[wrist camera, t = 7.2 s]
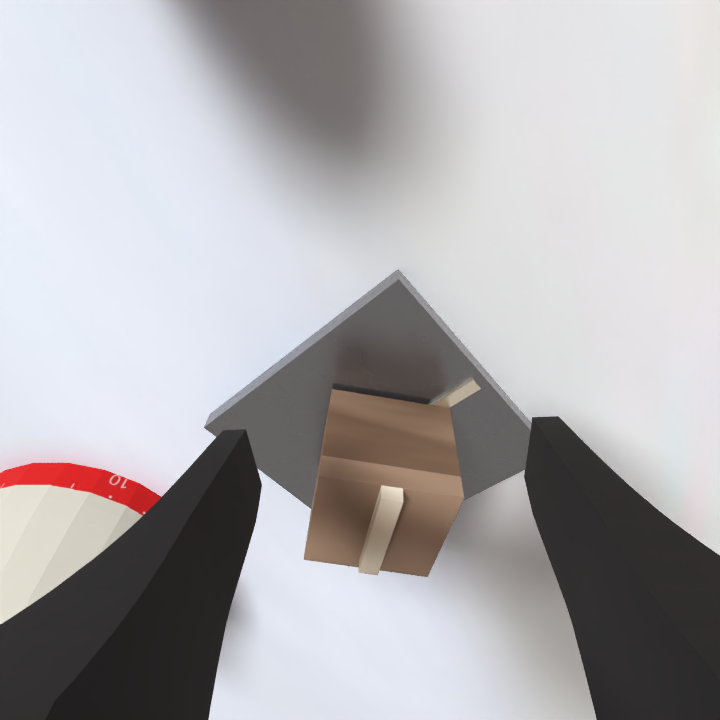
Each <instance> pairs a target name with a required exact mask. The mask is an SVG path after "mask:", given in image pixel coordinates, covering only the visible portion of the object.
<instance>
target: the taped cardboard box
mask: <svg viewBox="0 0 720 720" xmlns="http://www.w3.org/2000/svg"><path fill="white" fill-rule="evenodd" d="M463 499H464V493H463V487H462V481H461V475H460V468H459V462H458V456H457V450H456V444H455V437H454V431H453V425H452V419H451V412H450V408H446V407H440V406H434V405H428V404H421V403H415V402H409V401H403V400H397V399H391V398H385V397H378V396H372V395H366V394H360V393H354V392H348V391H342V390H335V389H332V391H331V397H330V402H329V408H328V414H327V419H326V425H325V431H324V436H323V442H322V448H321V453H320V459H319V464H318V470H317V477H316V483H315V490H314V496H313V503H312V509H311V515H310V522H309V528H308V535H307V541H306V548H305V554H304V560H310V561H318V562H325V563H332V564H339V565H346V566H353V567H359V573H365V574H373V575H378V573H379V570H382V571H389V572H396V573H403V574H410V575H417V576H424V577H428V575H429V573H430V570H431V568H432V566H433V564H434V562H435V560H436V558H437V555H438V553H439V551H440V549H441V547H442V545H443V542H444V540H445V538H446V536H447V534H448V532H449V530H450V527H451V525H452V523H453V521H454V519H455V517H456V514H457V512H458V510H459V508H460V506H461V504H462V502H463Z"/></svg>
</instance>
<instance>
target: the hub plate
mask: <svg viewBox="0 0 720 720" xmlns="http://www.w3.org/2000/svg"><path fill="white" fill-rule="evenodd" d="M332 389H335V390H342V391H348V392H354V393H360V394H366V395H372V396H378V397H385V398H391V399H397V400H403V401H409V402H415V403H421V404H428V405H434V406H440V407H446V408H450V412H451V419H452V425H453V431H454V437H455V444H456V450H457V456H458V462H459V468H460V475H461V481H462V487H463V493H464V499H463V500H465V499H467V498H469V497H471V496H473V495H475V494H477V493H479V492H481V491H483V490H485V489H487V488H489V487H491V486H493V485H495V484H497V483H499V482H501V481H503V480H505V479H507V478H509V477H511V476H513V475H515V474H517V473H519V472H521V471H523V470H524V469H525V468H526V461H527V453H528V446H529V439H530V432H531V422H530V421H529V420H528V419H527V418H526V417H525V416H524V414H523V413H522V412H521V411H520V410H519V409H518V407H517V406H516V405H515V404H514V403H513V402H512V401H511V399H510V398H509V397H508V396H507V395H506V394H505V392H504V391H503V390H502V389H501V388H500V387H499V385H498V384H497V383H496V382H495V381H494V380H493V379H492V377H491V376H490V375H489V374H488V373H487V372H486V370H485V369H484V368H483V367H482V366H481V365H480V364H479V362H478V361H477V360H476V359H475V358H474V357H473V355H472V354H471V353H470V352H469V351H468V350H467V348H466V347H465V346H464V345H463V344H462V343H461V342H460V340H459V339H458V338H457V337H456V336H455V335H454V333H453V332H452V331H451V330H450V329H449V328H448V327H447V325H446V324H445V323H444V322H443V321H442V320H441V318H440V317H439V316H438V315H437V314H436V313H435V311H434V310H433V309H432V308H431V307H430V306H429V305H428V303H427V302H426V301H425V300H424V299H423V298H422V296H421V295H420V294H419V293H418V292H417V291H416V290H415V288H414V287H413V286H412V285H411V284H410V283H409V281H408V280H407V279H406V278H405V277H404V276H403V274H402V273H401V272H400V271H399V270H397V271H395V272H394V273H393V274H391V275H390V276H389V277H388V278H386V279H385V280H384V281H382V282H381V283H380V284H378V285H377V286H376V287H375V288H373V289H372V290H371V291H369V292H368V293H367V294H365V295H364V296H363V297H362V298H360V299H359V300H358V301H356V302H355V303H354V304H353V305H351V306H350V307H349V308H347V309H346V310H345V311H343V312H342V313H341V314H340V315H338V316H337V317H336V318H334V319H333V320H332V321H330V322H329V323H328V324H327V325H325V326H324V327H323V328H321V329H320V330H319V331H318V332H316V333H315V334H314V335H312V336H311V337H310V338H308V339H307V340H306V341H305V342H303V343H302V344H301V345H299V346H298V347H297V348H295V349H294V350H293V351H292V352H290V353H289V354H288V355H286V356H285V357H284V358H282V359H281V360H280V361H279V362H277V363H276V364H275V365H273V366H272V367H271V368H270V369H268V370H267V371H266V372H264V373H263V374H262V375H260V376H259V377H258V378H257V379H255V380H254V381H253V382H251V383H250V384H249V385H247V386H246V387H245V388H244V389H242V390H241V391H240V392H238V393H237V394H236V395H234V396H233V397H232V398H231V399H229V400H228V401H227V402H225V403H224V404H223V405H222V406H220V407H219V408H218V409H216V410H215V411H214V412H212V413H211V414H210V416H209V418H208V420H207V422H206V424H205V426H204V428H205V429H207V430H208V431H209V432H211V433H212V434H213V435H215V436H216V437H217V436H218V435H219V434H220V433H221V432H222V431H223V430H239V429H246V431H247V434H248V438H249V441H250V445H251V448H252V452H253V456H254V459H255V463H256V466H257V468H258V469H259V470H261V471H262V472H263V473H265V474H266V475H267V476H269V477H270V478H271V479H273V480H274V481H275V482H277V483H278V484H279V485H280V486H282V487H283V488H284V489H286V490H287V491H288V492H290V493H291V494H292V495H294V496H295V497H296V498H298V499H299V500H300V501H302V502H303V503H304V504H305V505H307V506H308V507H309V508H311V509H312V503H313V496H314V490H315V483H316V477H317V470H318V464H319V459H320V453H321V448H322V442H323V436H324V431H325V425H326V419H327V414H328V408H329V402H330V397H331V391H332Z"/></svg>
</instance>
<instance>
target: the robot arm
mask: <svg viewBox="0 0 720 720" xmlns="http://www.w3.org/2000/svg"><path fill="white" fill-rule="evenodd" d="M524 478H525V482H526V486H527V491H528V495H529V500H530V504H531V508H532V512H533V516H534V518H535V521H536V524H537V527H538V529H539V532H540V535H541V538H542V540H543V543H544V546H545V549H546V551H547V554H548V557H549V559H550V562H551V565H552V567H553V570H554V573H555V575H556V578H557V581H558V583H559V586H560V589H561V591H562V594H563V597H564V600H565V602H566V605H567V608H568V612H569V615H570V618H571V621H572V624H573V628H574V632H575V636H576V639H577V643H578V647H579V651H580V654H581V658H582V662H583V666H584V670H585V674H586V678H587V682H588V686H589V690H590V694H591V698H592V702H593V706H594V710H595V714H596V718H597V720H720V555H718V554H717V553H715V552H714V551H712V550H711V549H709V548H708V547H706V546H705V545H704V544H702V543H701V542H699V541H698V540H697V539H695V538H694V537H693V536H691V535H690V534H689V533H687V532H686V531H685V530H683V529H682V528H680V527H679V526H678V525H676V524H675V523H674V522H672V521H671V520H670V519H669V518H667V517H666V516H665V515H663V514H662V513H661V512H660V511H658V510H657V509H656V508H655V507H654V506H652V505H651V504H650V503H649V502H648V501H647V500H645V499H644V498H643V497H642V496H641V495H639V494H638V493H637V492H636V491H635V490H634V489H633V488H631V487H630V486H629V485H628V484H627V483H626V482H625V481H624V480H623V479H622V478H621V477H619V476H618V475H617V474H616V473H615V472H614V471H613V470H612V469H611V468H610V467H609V466H608V465H607V464H605V463H604V462H603V461H602V460H601V459H600V458H599V457H598V456H597V455H596V454H595V453H594V452H593V451H592V450H591V449H590V448H589V447H588V446H587V445H586V444H585V443H584V442H583V441H582V440H581V439H580V438H579V437H578V436H577V435H576V434H575V433H574V432H573V431H572V430H571V429H570V428H569V427H568V426H567V425H566V424H565V423H564V422H563V421H562V420H561V419H560V418H559V417H558V416H556V417H532V424H531V432H530V439H529V446H528V453H527V461H526V468H525V475H524ZM261 487H262V484H261V480H260V477H259V473H258V470H257V466H256V463H255V459H254V456H253V452H252V448H251V445H250V441H249V438H248V434H247V431H246V429H239V430H223V431H222V432H221V433H220V434H219V435H218V436H217V437H216V438H215V440H214V441H213V442H212V443H211V444H210V445H209V446H208V447H207V448H206V450H205V451H204V452H203V453H202V454H201V455H200V456H199V457H198V459H197V460H196V461H195V462H194V463H193V464H192V465H191V466H190V467H189V469H188V470H187V471H186V472H185V473H184V474H183V475H182V476H181V477H180V478H179V479H178V480H177V481H176V483H175V484H174V485H173V486H172V487H171V488H170V489H169V490H168V491H167V492H166V493H165V494H164V495H163V496H162V497H161V498H160V499H159V500H158V501H157V502H156V503H155V504H154V505H153V506H152V507H151V508H150V509H149V510H148V511H147V512H146V513H145V514H144V515H143V516H142V517H141V518H140V519H139V520H138V521H137V522H136V523H135V524H134V525H132V526H131V527H130V528H129V529H128V530H127V531H126V532H125V533H124V534H122V535H121V536H120V537H119V538H118V539H117V540H115V541H114V542H113V543H112V544H111V545H110V546H108V547H107V548H106V549H105V550H104V551H102V552H101V553H100V554H99V555H98V556H96V557H95V558H94V559H93V560H91V561H90V562H89V563H87V564H86V565H85V566H83V567H82V568H81V569H79V570H78V571H77V572H75V573H74V574H73V575H71V576H70V577H69V578H67V579H66V580H65V581H63V582H62V583H61V584H59V585H58V586H57V587H55V588H54V589H53V590H51V591H50V592H48V593H47V594H45V595H44V596H43V597H41V598H40V599H38V600H37V601H35V602H34V603H32V604H31V605H29V606H28V607H26V608H25V609H23V610H22V611H20V612H19V613H17V614H16V615H14V616H13V617H11V618H10V619H8V620H7V621H5V622H3V623H2V624H0V720H208V718H209V712H210V706H211V700H212V695H213V689H214V683H215V678H216V672H217V667H218V661H219V656H220V651H221V646H222V641H223V636H224V631H225V626H226V622H227V618H228V614H229V610H230V606H231V603H232V600H233V596H234V593H235V590H236V586H237V583H238V580H239V576H240V573H241V570H242V567H243V563H244V560H245V557H246V553H247V550H248V547H249V543H250V540H251V536H252V533H253V530H254V526H255V523H256V517H257V512H258V506H259V500H260V493H261Z"/></svg>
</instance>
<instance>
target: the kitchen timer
mask: <svg viewBox="0 0 720 720" xmlns="http://www.w3.org/2000/svg"><path fill="white" fill-rule="evenodd" d="M160 498H161V496H159V495H157V494H156V493H154V492H153V491H151V490H149V489H148V488H146V487H144V486H143V485H141V484H140V483H137V482H134V481H132V480H129V479H127V478H124V477H121V476H119V475H116V474H114V473H111V472H109V471H106V470H102V469H97V468H92V467H87V466H81V465H76V464H71V463H31V464H28V465H24V466H20V467H16V468H12V469H8V470H5V471H3V472H2V473H0V624H2V623H3V622H5V621H7V620H8V619H10V618H11V617H13V616H14V615H16V614H17V613H19V612H20V611H22V610H23V609H25V608H26V607H28V606H29V605H31V604H32V603H34V602H35V601H37V600H38V599H40V598H41V597H43V596H44V595H45V594H47V593H48V592H50V591H51V590H53V589H54V588H55V587H57V586H58V585H59V584H61V583H62V582H63V581H65V580H66V579H67V578H69V577H70V576H71V575H73V574H74V573H75V572H77V571H78V570H79V569H81V568H82V567H83V566H85V565H86V564H87V563H89V562H90V561H91V560H93V559H94V558H95V557H96V556H98V555H99V554H100V553H101V552H102V551H104V550H105V549H106V548H107V547H108V546H110V545H111V544H112V543H113V542H114V541H115V540H117V539H118V538H119V537H120V536H121V535H122V534H124V533H125V532H126V531H127V530H128V529H129V528H130V527H131V526H132V525H134V524H135V523H136V522H137V521H138V520H139V519H140V518H141V517H142V516H143V515H144V514H145V513H146V512H147V511H148V510H149V509H150V508H151V507H152V506H153V505H154V504H155V503H156V502H157V501H158V500H159V499H160Z"/></svg>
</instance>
